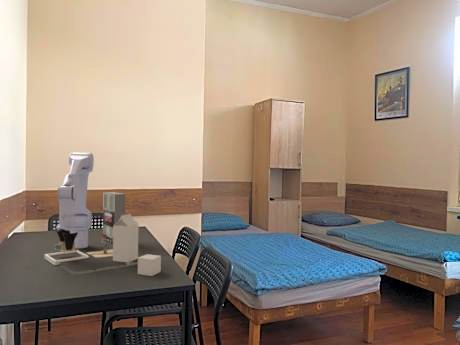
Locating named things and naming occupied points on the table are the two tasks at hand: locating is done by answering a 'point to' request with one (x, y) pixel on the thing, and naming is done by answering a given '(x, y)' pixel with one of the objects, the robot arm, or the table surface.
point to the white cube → (149, 264)
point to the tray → (56, 262)
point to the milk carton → (125, 240)
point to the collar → (63, 247)
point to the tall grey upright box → (111, 213)
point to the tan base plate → (102, 252)
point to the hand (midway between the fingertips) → (66, 248)
